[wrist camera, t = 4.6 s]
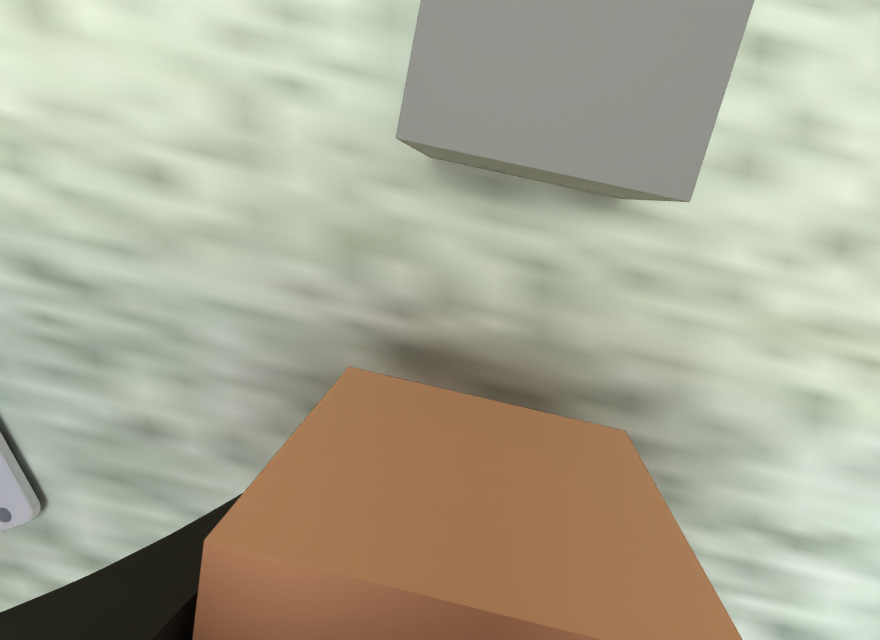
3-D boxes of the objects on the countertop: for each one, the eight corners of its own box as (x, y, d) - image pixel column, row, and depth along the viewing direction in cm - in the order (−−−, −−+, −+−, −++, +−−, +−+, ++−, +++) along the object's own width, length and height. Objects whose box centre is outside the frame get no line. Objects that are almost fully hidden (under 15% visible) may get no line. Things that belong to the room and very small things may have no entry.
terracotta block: (552, 659, 11) (602, 1047, 6) (307, 597, 11) (159, 922, 6) (625, 431, 9) (765, 680, 5) (348, 366, 10) (204, 541, 5)
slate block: (621, 198, 14) (690, 202, 9) (429, 157, 14) (395, 138, 9) (683, -17, 13) (802, -150, 8) (473, -59, 13) (459, -213, 8)
